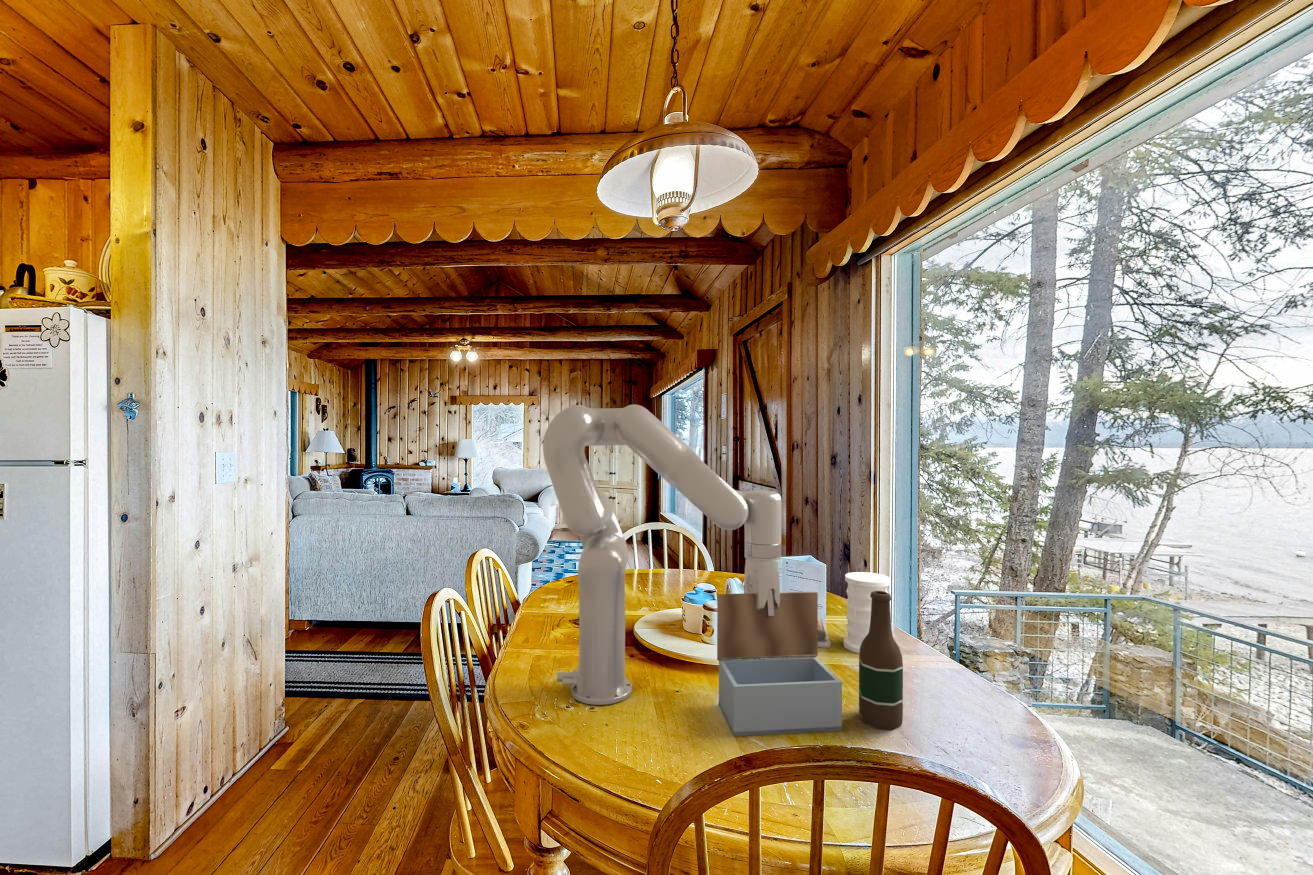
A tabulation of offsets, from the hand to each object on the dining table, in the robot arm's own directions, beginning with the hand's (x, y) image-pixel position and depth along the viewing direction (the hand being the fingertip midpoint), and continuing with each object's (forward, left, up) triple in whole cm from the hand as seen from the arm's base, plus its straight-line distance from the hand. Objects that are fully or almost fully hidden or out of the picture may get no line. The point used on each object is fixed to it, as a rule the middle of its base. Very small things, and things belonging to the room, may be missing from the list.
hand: (762, 638), depth 115 cm
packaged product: (+24, +34, -12) cm, 43 cm away
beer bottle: (+19, -13, -12) cm, 26 cm away
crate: (0, -10, -11) cm, 15 cm away
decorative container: (+35, +23, -12) cm, 44 cm away
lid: (0, -4, +4) cm, 6 cm away
